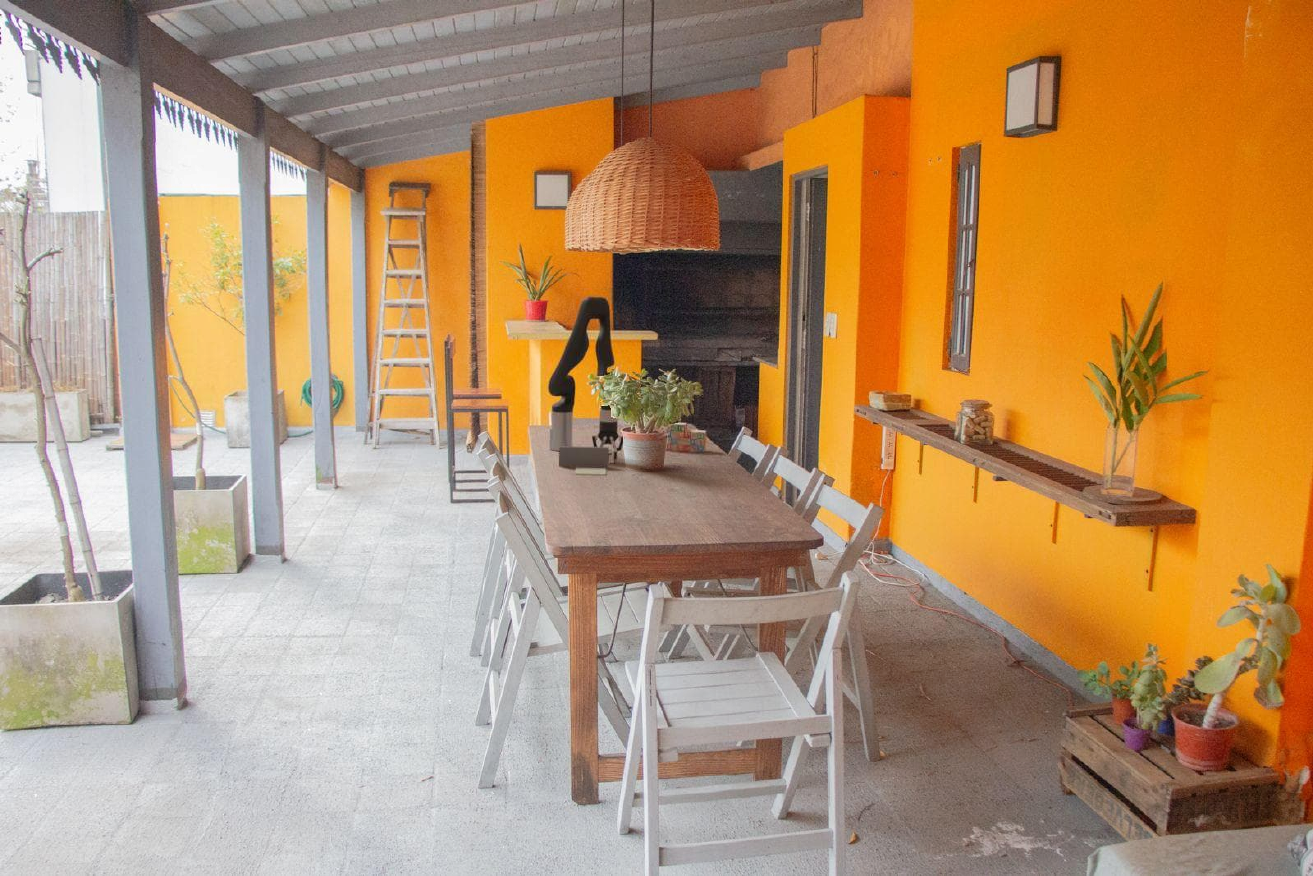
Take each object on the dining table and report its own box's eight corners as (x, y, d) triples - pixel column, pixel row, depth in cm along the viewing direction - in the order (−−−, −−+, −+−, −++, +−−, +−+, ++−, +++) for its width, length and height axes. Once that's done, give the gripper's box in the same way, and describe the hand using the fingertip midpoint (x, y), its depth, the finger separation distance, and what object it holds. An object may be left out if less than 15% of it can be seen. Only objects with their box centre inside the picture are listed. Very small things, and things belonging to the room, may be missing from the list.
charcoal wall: (558, 466, 412) (559, 447, 411) (558, 465, 414) (559, 446, 413) (607, 467, 413) (608, 448, 412) (607, 466, 415) (608, 447, 414)
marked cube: (601, 463, 422) (601, 451, 421) (601, 461, 427) (601, 449, 426) (613, 463, 422) (613, 451, 421) (613, 461, 427) (613, 449, 426)
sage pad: (575, 474, 397) (575, 473, 397) (575, 468, 408) (575, 467, 408) (605, 475, 397) (605, 473, 397) (605, 469, 409) (605, 468, 409)
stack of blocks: (705, 450, 461) (706, 423, 459) (703, 452, 455) (704, 425, 453) (659, 447, 466) (660, 421, 464) (657, 449, 460) (658, 422, 458)
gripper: (625, 419, 426) (624, 458, 428) (591, 418, 425) (590, 458, 428) (626, 421, 418) (624, 462, 421) (591, 420, 418) (590, 461, 420)
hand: (607, 460), depth 424 cm, fingers closed on marked cube, 5 cm apart
